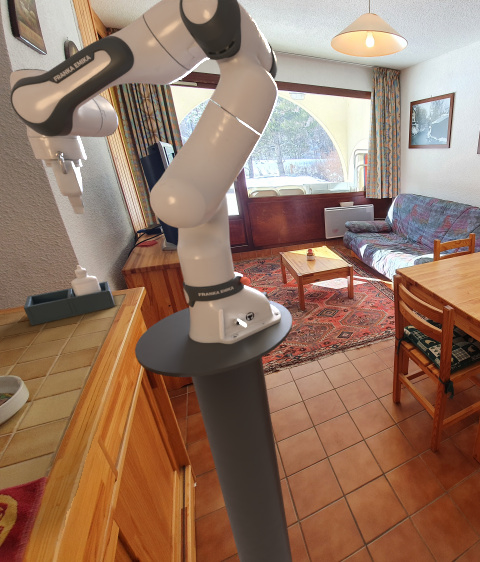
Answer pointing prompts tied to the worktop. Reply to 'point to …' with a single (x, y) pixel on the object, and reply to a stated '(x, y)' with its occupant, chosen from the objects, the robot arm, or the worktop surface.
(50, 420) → the worktop surface
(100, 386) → the worktop surface
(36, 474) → the worktop surface
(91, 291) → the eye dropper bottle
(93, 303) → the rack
